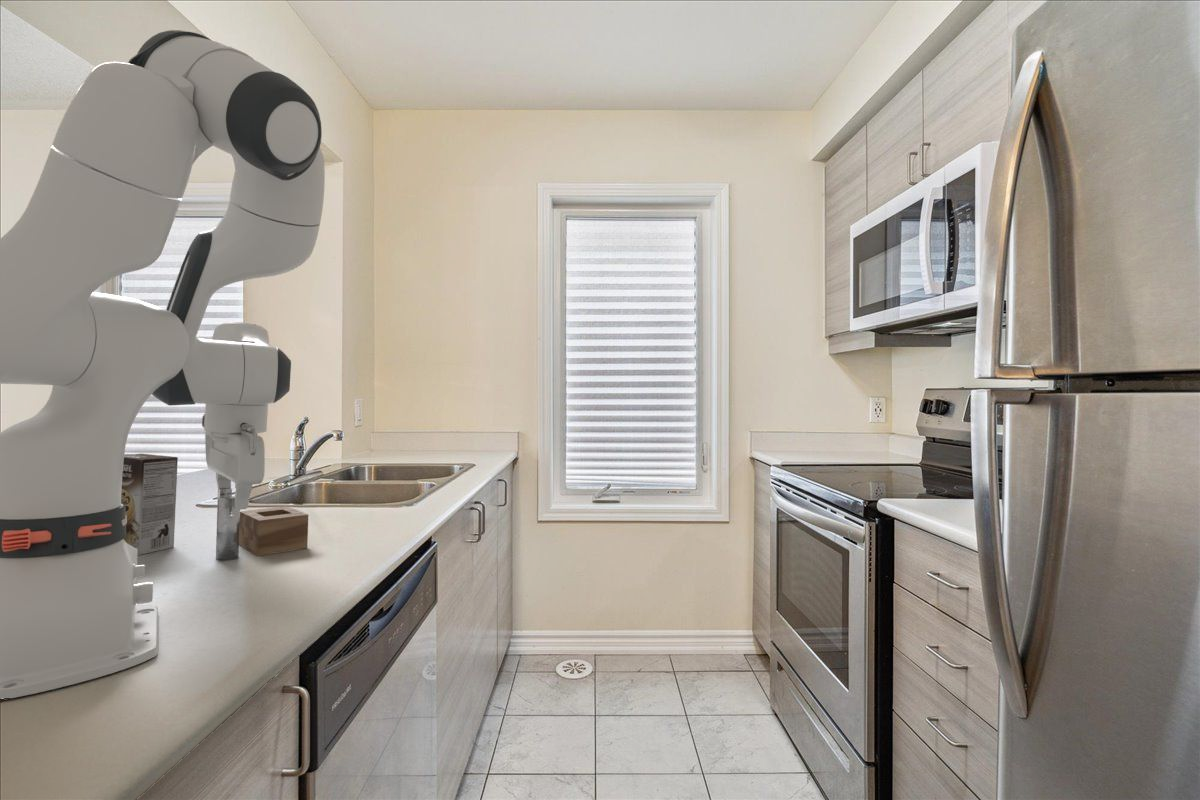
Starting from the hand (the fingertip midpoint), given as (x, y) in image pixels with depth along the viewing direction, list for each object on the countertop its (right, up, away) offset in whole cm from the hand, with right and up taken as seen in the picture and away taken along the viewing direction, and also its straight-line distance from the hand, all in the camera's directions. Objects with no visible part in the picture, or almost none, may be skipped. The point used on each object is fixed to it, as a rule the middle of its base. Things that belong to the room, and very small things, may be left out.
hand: (232, 503), depth 96 cm
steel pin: (-1, -9, 0) cm, 9 cm away
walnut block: (+2, -9, +8) cm, 12 cm away
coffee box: (-19, -9, +4) cm, 21 cm away
